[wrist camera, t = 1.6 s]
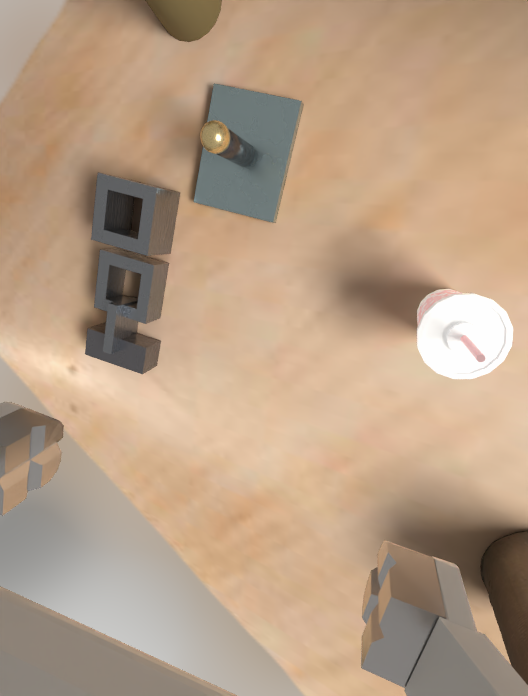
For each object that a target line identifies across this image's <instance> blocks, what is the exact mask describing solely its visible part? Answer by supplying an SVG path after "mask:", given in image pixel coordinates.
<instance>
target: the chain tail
mask: <svg viewBox="0 0 528 696" xmlns="http://www.w3.org/2000/svg"><path fill="white" fill-rule="evenodd" d="M168 266H169V263H166V262H163V261H159V260H156V259H152V258H149V257H146V256H142V255H139V254H135V253H132V252H128V251H125V250H121V249H100V255H99V265H98V275H97V284H96V294H95V304H94V307H95V308H98V309H101V310H104V311H107V319H106V323H103V324H100V325H96V326H93V327H90V328H88V330H87V340H86V350H85V354H86V355H89V356H91V357H94V358H97V359H100V360H103V361H106V362H109V363H112V364H114V365H117V366H120V367H123V368H126V369H129V370H132V371H135V372H137V373H140V374H144V373H145V372H147V371H149V370H150V369H152V368H154V367H156V366H157V361H158V355H159V349H160V343H161V341H159V340H156V339H153V338H150V337H147V336H144V335H141V334H138V333H137V327H138V322H142V323H145V324H146V323H149V322H151V321H154V320H157V319H159V318H160V316H161V310H162V304H163V297H164V291H165V285H166V279H167V272H168ZM126 270H129V271H132V272H136V273H139V274H141V281H140V288H139V296H138V298H136V297H127V296H123V287H124V279H125V271H126Z"/></svg>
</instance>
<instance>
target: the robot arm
mask: <svg viewBox="0 0 528 696" xmlns="http://www.w3.org/2000/svg"><path fill="white" fill-rule="evenodd" d="M63 428H64V425H63V424H62V423H61V422H60V421H59V420H56V419H54V418H51V417H49V416H46V415H44V414H41V413H39V412H36V411H33V410H31V409H28V408H25V407H23V406H20V405H18V404H15V403H12V402H3V403H1V404H0V515H2V516H3V515H4V514H5V513H7V512H8V511H10V510H11V509H12V508H14V507H15V506H16V505H18V504H19V503H21V502H22V501H23V500H25V499H26V497H27V493H28V491H30V490H34V489H38V488H41V487H42V486H43V485H45V484H46V483H48V482H49V481H50V480H51V478H52V477H53V476H54V474H55V473H56V472H57V470H58V467H59V464H60V462H61V450H60V448H59V446H58V444H57V442H58V441H60V440H61V439H62V438H63ZM362 618H363V620H364V621H365V623H366V627H365V630H364V632H363V635H362V654H361V668H362V669H364V670H367V671H369V672H371V673H373V674H375V675H378V676H380V677H382V678H384V679H386V680H388V681H391V682H393V683H395V684H397V685H399V686H402V687H404V688H405V693H406V695H407V696H528V685H527V684H526V683H525V681H524V680H523V679H522V678H521V677H520V675H519V674H518V673H517V672H516V671H515V670H514V668H513V667H512V666H511V665H510V664H509V662H508V661H507V660H506V659H505V658H504V656H503V655H502V654H501V653H500V652H499V651H498V649H497V648H496V647H495V646H494V645H493V643H492V642H491V641H490V640H489V639H488V638H487V636H486V635H485V634H482V633H480V632H477V629H476V626H475V622H474V619H473V615H472V612H471V608H470V605H469V601H468V598H467V594H466V591H465V587H464V584H463V580H462V577H461V573H460V570H459V568H458V566H457V565H456V564H454V563H451V562H448V561H445V560H442V559H439V558H436V557H433V556H428V555H425V554H422V553H419V552H417V551H414V550H411V549H408V548H405V547H403V546H400V545H397V544H394V543H391V542H389V541H386V540H384V542H383V543H382V545H381V547H380V550H379V552H378V567H377V568H375V569H373V570H371V573H370V575H369V578H368V581H367V584H366V589H365V593H364V598H363V607H362ZM0 696H237V695H235V694H233V693H230V692H228V691H226V690H224V689H222V688H219V687H217V686H215V685H213V684H211V683H209V682H207V681H205V680H202V679H200V678H198V677H196V676H194V675H191V674H189V673H187V672H185V671H183V670H180V669H179V668H176V667H174V666H172V665H170V664H168V663H166V662H163V661H161V660H159V659H157V658H155V657H153V656H151V655H148V654H146V653H144V652H142V651H140V650H138V649H135V648H133V647H131V646H129V645H127V644H125V643H122V642H120V641H118V640H116V639H114V638H111V637H109V636H107V635H105V634H103V633H101V632H98V631H96V630H94V629H92V628H90V627H88V626H85V625H83V624H81V623H79V622H77V621H75V620H72V619H70V618H68V617H66V616H64V615H62V614H59V613H57V612H55V611H53V610H51V609H49V608H46V607H44V606H42V605H40V604H38V603H35V602H33V601H31V600H29V599H27V598H24V597H23V596H20V595H18V594H16V593H14V592H12V591H10V590H7V589H5V588H3V587H1V586H0Z"/></svg>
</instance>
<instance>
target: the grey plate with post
mask: <svg viewBox="0 0 528 696" xmlns="http://www.w3.org/2000/svg"><path fill="white" fill-rule="evenodd" d="M302 109H303V103H302V101H299V100H294V99H289V98H284V97H279V96H274V95H269V94H264V93H259V92H254V91H249V90H244V89H239V88H234V87H229V86H224V85H219V84H214V86H213V92H212V97H211V103H210V109H209V115H208V121H207V123H206V124H205V125H204V126H203V127H202V130H201V133H200V139H201V143H202V145H203V150H202V156H201V162H200V168H199V174H198V179H197V185H196V191H195V197H194V202H195V203H199V204H203V205H207V206H211V207H215V208H219V209H223V210H226V211H230V212H234V213H238V214H242V215H246V216H250V217H254V218H257V219H261V220H265V221H269V222H273V223H276V219H277V215H278V210H279V206H280V202H281V198H282V193H283V189H284V185H285V181H286V177H287V172H288V168H289V164H290V160H291V155H292V151H293V147H294V143H295V138H296V134H297V130H298V126H299V121H300V117H301V113H302Z"/></svg>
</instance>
